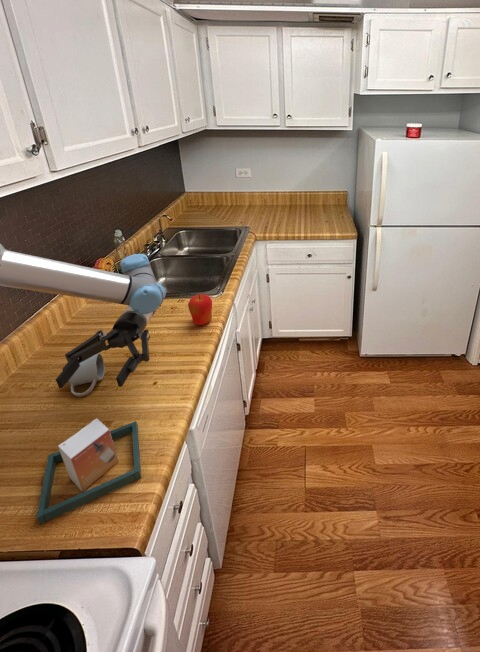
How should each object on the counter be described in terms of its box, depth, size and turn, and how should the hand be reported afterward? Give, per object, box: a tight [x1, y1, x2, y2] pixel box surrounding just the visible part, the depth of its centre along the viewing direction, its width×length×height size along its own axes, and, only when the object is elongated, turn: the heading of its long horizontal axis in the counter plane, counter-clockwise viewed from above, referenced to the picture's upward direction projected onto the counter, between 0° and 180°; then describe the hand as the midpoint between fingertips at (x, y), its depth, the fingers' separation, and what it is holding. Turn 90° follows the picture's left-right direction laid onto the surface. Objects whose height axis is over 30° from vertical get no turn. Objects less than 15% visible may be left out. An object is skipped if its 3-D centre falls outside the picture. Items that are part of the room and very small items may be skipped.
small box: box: [57, 417, 119, 493], centre depth 73 cm, size 8×6×10 cm
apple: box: [187, 293, 213, 326], centre depth 123 cm, size 9×8×12 cm
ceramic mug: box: [66, 352, 106, 397], centre depth 96 cm, size 11×8×8 cm
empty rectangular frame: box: [36, 420, 142, 525], centre depth 75 cm, size 18×14×2 cm
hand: (88, 383), depth 76 cm, fingers open, 13 cm apart
